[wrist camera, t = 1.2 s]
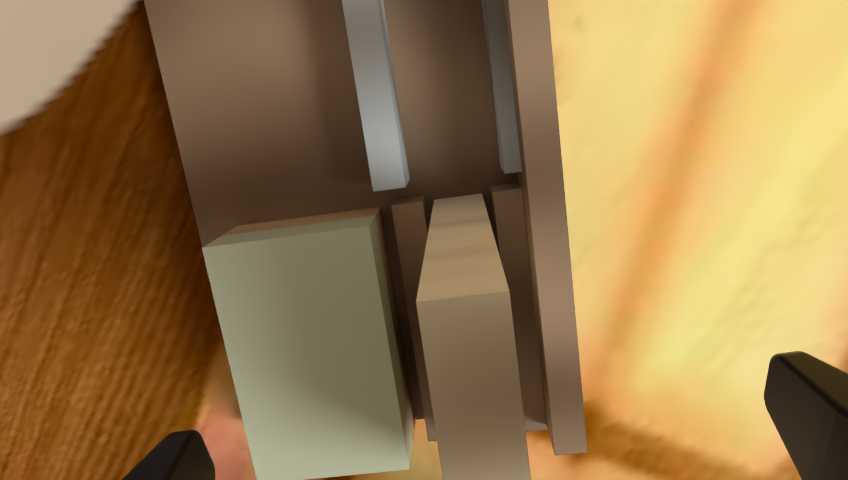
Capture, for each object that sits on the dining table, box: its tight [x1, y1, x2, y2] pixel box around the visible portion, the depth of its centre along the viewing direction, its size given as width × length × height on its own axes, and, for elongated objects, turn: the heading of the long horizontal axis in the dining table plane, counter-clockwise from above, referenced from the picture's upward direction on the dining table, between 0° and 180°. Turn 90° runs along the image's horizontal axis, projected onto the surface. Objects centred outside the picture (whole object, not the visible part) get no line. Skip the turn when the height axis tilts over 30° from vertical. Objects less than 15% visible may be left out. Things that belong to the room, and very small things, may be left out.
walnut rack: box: [144, 0, 587, 456], centre depth 19 cm, size 17×12×4 cm
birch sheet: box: [416, 193, 531, 480], centre depth 16 cm, size 8×2×10 cm, turn 8°
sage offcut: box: [202, 216, 413, 480], centre depth 19 cm, size 8×5×2 cm, turn 8°
